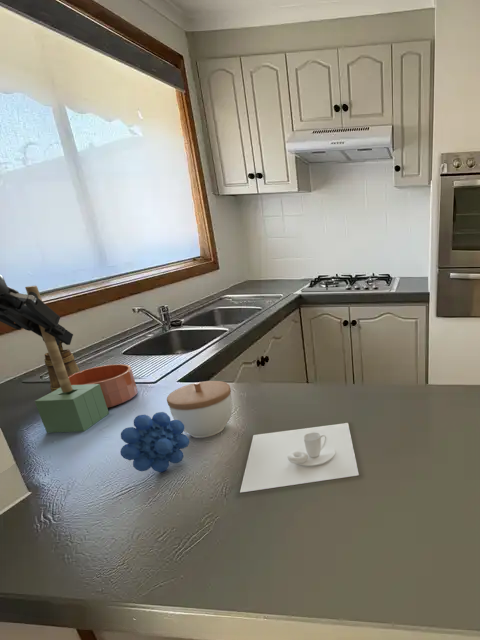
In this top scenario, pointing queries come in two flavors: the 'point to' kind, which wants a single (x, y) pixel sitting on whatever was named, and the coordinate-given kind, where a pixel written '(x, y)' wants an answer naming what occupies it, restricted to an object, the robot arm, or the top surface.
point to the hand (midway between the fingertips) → (64, 339)
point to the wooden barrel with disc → (68, 363)
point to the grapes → (154, 442)
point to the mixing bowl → (109, 382)
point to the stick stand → (72, 408)
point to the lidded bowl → (202, 407)
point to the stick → (53, 352)
